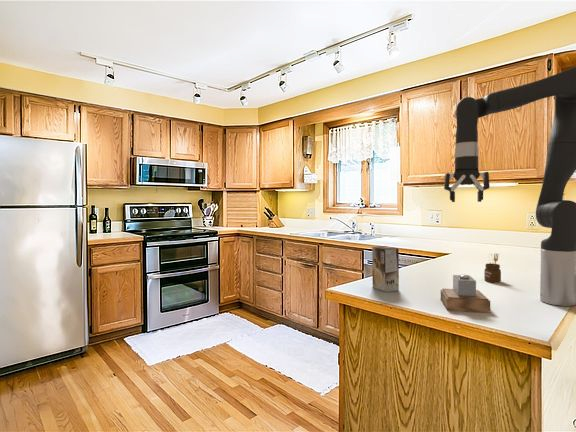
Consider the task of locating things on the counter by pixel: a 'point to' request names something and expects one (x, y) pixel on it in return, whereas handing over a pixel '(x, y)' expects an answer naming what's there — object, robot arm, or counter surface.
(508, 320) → the counter surface
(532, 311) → the counter surface
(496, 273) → the utensil holder
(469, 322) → the counter surface
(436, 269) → the counter surface
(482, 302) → the walnut stand
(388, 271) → the coffee box
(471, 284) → the block
